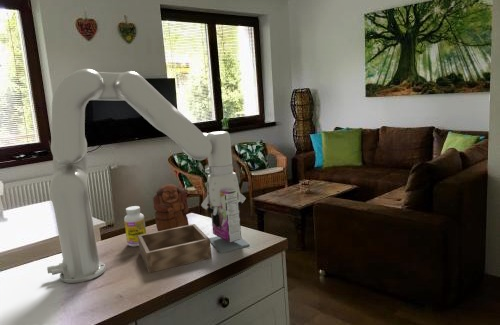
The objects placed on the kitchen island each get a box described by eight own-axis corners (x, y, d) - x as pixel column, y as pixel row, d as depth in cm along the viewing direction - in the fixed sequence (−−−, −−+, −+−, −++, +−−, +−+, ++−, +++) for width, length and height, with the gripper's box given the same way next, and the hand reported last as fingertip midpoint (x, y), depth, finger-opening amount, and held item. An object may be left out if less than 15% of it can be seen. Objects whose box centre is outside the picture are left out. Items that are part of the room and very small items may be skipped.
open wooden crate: (149, 272, 120) (146, 253, 119) (140, 252, 135) (137, 235, 134) (211, 257, 127) (209, 239, 126) (196, 240, 142) (194, 223, 141)
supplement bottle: (126, 248, 140) (121, 211, 138) (128, 241, 147) (123, 206, 144) (147, 245, 142) (142, 209, 139) (147, 238, 148) (143, 204, 146)
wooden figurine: (163, 238, 147) (157, 189, 144) (156, 233, 152) (150, 186, 149) (192, 229, 154) (187, 182, 150) (185, 225, 159) (179, 180, 156)
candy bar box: (211, 234, 141) (207, 187, 138) (224, 230, 143) (220, 184, 140) (229, 243, 131) (225, 193, 128) (242, 239, 134) (238, 190, 131)
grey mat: (220, 252, 130) (220, 251, 130) (207, 240, 142) (207, 238, 142) (249, 245, 134) (249, 244, 134) (235, 234, 146) (234, 232, 146)
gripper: (198, 176, 127) (204, 232, 130) (250, 168, 133) (254, 221, 136) (192, 172, 134) (197, 225, 137) (241, 164, 140) (245, 216, 143)
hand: (225, 223), depth 137 cm, fingers closed on candy bar box, 5 cm apart
